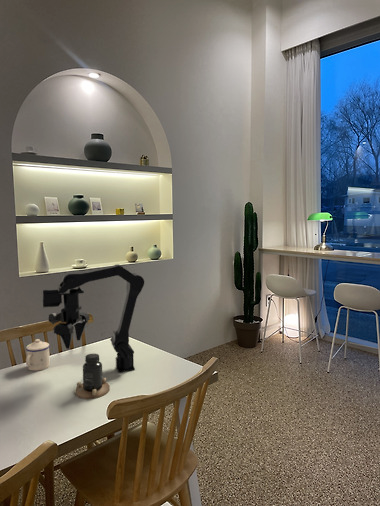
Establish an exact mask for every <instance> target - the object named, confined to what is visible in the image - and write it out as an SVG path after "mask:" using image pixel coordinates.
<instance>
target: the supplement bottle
mask: <svg viewBox="0 0 380 506" xmlns="http://www.w3.org/2000/svg"><path fill="white" fill-rule="evenodd" d="M84 357H85V358H84V361H85V362H84V363H83V364H82V383H83V389H84V390H85V391H89V392H92V390H93V389H96V391H97V390H100V389H101V388H102V378H103V363H102V362H101V361H100V354H98V353H89V354H86V355H85V356H84Z"/></svg>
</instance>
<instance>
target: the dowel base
mask: <svg viewBox="0 0 380 506" xmlns="http://www.w3.org/2000/svg"><path fill="white" fill-rule="evenodd" d="M74 390H75V391H74V392H75V395H76V397H78V398H80V399H84V400H90V399H91V400H92V399H98V398H100V397H101V398H102V397H103V396H106V395H107V394H108V393H109V392H110V390H111V388H110V384H109V383H108V382H107V379H106V377H102V388H101V389H100V390H97V391H96V389H93V390H92V392H89V391H85V390H84V389H83V382H82V383H81V381H78V382H76V387H75V389H74Z"/></svg>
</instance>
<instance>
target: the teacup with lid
mask: <svg viewBox="0 0 380 506" xmlns="http://www.w3.org/2000/svg"><path fill="white" fill-rule="evenodd" d="M25 350H26V357H25V364H26V366H27V369H28V370H29V371H35V372H37V371H38V372H39V371H43V370H46V369H48V368H49V367H50V365H51V361H50V360H51V359H50V357H51V356H50V343H48V342H46V341H42V340H40V338H37V339H35V340H34V341H33V342H32V343H29V344H28V345H27V346H26V348H25Z"/></svg>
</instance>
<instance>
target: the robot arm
mask: <svg viewBox="0 0 380 506" xmlns="http://www.w3.org/2000/svg"><path fill="white" fill-rule="evenodd" d="M117 276H118V277H120V278H122V280H124V281H126V295H125V296H126V297H125V300H124V303H123V304H124V305H123V308H122V311H121V316H120V320H119V323H118V328H117V329H116V331H115V330H112V332H111V334H112V335H111V338H110V339H109V340H110V342H111V346H112V348H113V350H114V352H116V356H115V368H116V369H117V370H118V373H123V372H127V371H128V372H129V371H136V368H135V366H134V361H135V360H134V354H135V351H134V349H133V347H132V346H131V345H130V343H129V342H130V336H129V335H130V333H129V330H130V327H131V323H132V320H133V319H132V318H133V315H134V311H135V306H136V304H137V298H138V297H139V295H140V294H141V293H142V291H143V288H144V285H145V280H144V277H142V276H141V275H140V274H138V273H136V272H130V271H129V270H127V269H126V268H124V266H122V265H120V264H118V263H117V264H114V265H111V266H106V267H102V268H96V269H91V270H88V271H67V272H65V273H64V274H63V276H62V278H61V279H62V280H61V282H60V284H58V286H57V288H53V289H52V288H51V289H50V288H49V289H48V288H45V289H42V307H43V309H45V308H54V307H60V305H61V304H63V308H61V310H60V311H59V312H56V313H55V312H52V313H50V314H48V323H50V324H52V325H54V324H56V323H58V324H56V325H55V326H54V327H53V334H56V335H57V336H60V337H61V339H62V341H63V344H64V345H65V346H64V347H65V349H66V350H67V349H70V347H71V344H72V341H73V340H72V339H73V337H74V333H75V337H76V341H81V339H82V336H83V334H84V332H85V329H86V326H87V324H88V322H89V321H90V314H89V313H87V312H80V311H81V310H82V305H81V306H80V294H84V293H85V292H84V291H85V290H84V289H82V288H81V286H83V285H85V284H87V283H89V282H95V281H99V280H103V279H108V278H112V277H117ZM62 296H63V297H62ZM62 301H63V302H62Z"/></svg>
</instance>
